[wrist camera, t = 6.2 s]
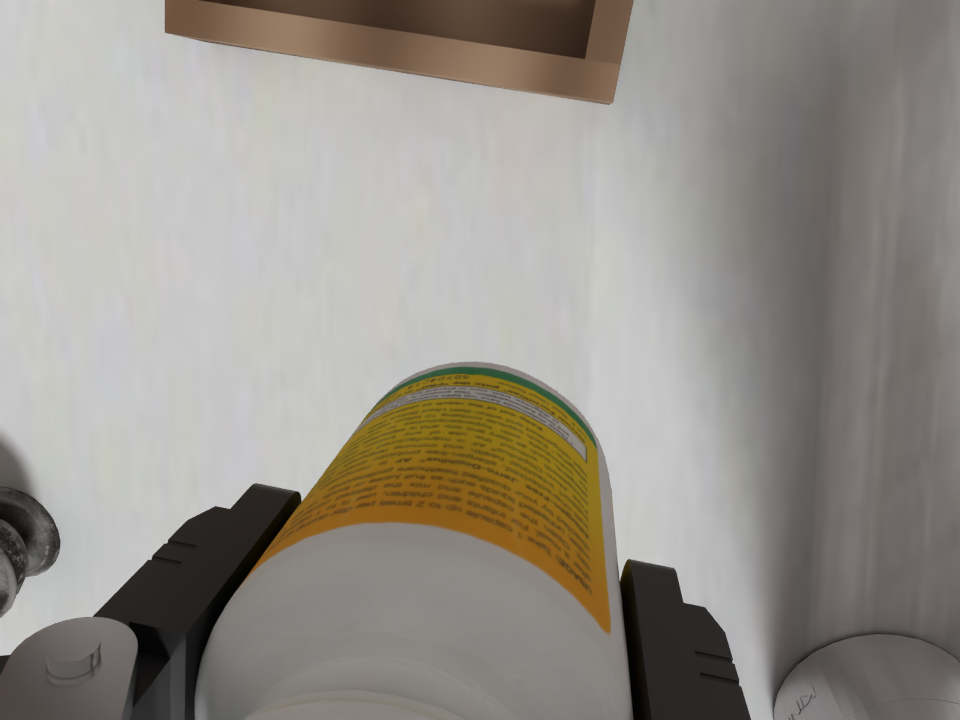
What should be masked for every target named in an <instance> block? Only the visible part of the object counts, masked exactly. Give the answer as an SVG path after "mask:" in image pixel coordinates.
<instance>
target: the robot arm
mask: <svg viewBox="0 0 960 720" xmlns="http://www.w3.org/2000/svg"><path fill="white" fill-rule="evenodd" d="M300 504H301V495H300V493H299V492H297V491H292V490H287V489H282V488H277V487H272V486H267V485H262V484H257V483H256V484H253V485H252V486H251V487H250V488H249V489H248V490H247V491H246V492H245V493H244V494H243V495H242V497H241V498H240V499H239V500H238V501H237V502H236V503H235V504H234V505H233V507H232V508H231V509H226V508H222V507H217V506H215V507H213V508H211V509H209V510H207V511H205V512H203V513H201V514H199V515H197V516H195V517H193V518H191V519H189V520H187V521H186V522H185V523H184V524H183V525H182V526H181V527H180V528H179V529H178V530H177V531H176V532H175V533H174V534H173V535H172V536H171V537H170V538H169V540H168V543H167V544H164V545H163V546H162V547H161V548H160V549H159V550H158V551H157V552H156V553H155V554H154V555H153V556H152V559H151V560H148V561H147V562H146V563H145V564H144V565H143V566H142V567H141V568H140V569H139V570H138V571H137V572H136V573H135V574H134V575H133V576H132V577H131V578H130V579H129V580H128V581H127V582H126V583H125V584H124V585H123V586H122V587H121V588H120V589H119V590H118V591H117V592H116V593H115V594H114V595H113V596H112V598H111V599H110V600H109V601H108V602H107V603H106V604H105V605H104V606H103V607H102V608H101V609H100V610H99V611H98V612H97V613H96V614H95V615H94V616H93V617H82V618H75V619H70V620H65V621H62V622H59V623H55V624H53V625H50V626H48V627H46V628H43V629H42V630H40V631H38V632H36V633H34V634H33V635H31V636H30V637H28V638H27V639H25V640H24V641H23V642H22V643H21V644H20V645H19V646H18V647H17V648H16V649H15V650H14V651H13V652H12V654H11V655H6V656H0V720H195V692H196V683H197V678H198V672H199V667H200V663H201V658H202V655H203V653H204V650H205V647H206V645H207V642H208V639H209V637H210V634H211V632H212V630H213V627H214V626H215V624H216V622H217V620H218V618H219V617H220V615H221V614H222V612H223V610H224V608H225V606H226V605H227V603H228V602H229V601H230V599H231V598H232V596H233V595H234V593H235V592H236V591H237V589H238V588H239V587H240V585H241V584H242V583H243V581H244V580H245V579H246V577H247V576H248V574H249V573H250V572H251V570H252V569H253V568H254V566H255V565H256V564H257V562H258V561H259V559H260V558H261V557H262V555H263V554H264V552H265V551H266V550H267V548H268V547H269V545H270V544H271V543H272V541H273V540H274V539H275V537H276V536H277V535H278V533H279V532H280V531H281V529H282V528H283V527H284V525H285V524H286V523H287V521H288V520H289V518H290V517H291V515H292V514H293V513H294V512H295V510H296V509H297V508H298V506H299V505H300ZM620 589H621V596H622V606H623V617H624V627H625V636H626V644H627V653H628V664H629V675H630V686H631V697H632V707H633V718H634V720H751V718H750V715H749V711H748V708H747V705H746V701H745V698H744V695H743V691H742V688H741V686H739V678H738V675H737V671H736V668H735V665H734V664H732V660H733V658H732V655H731V651H730V648H729V645H728V641H727V638H726V634H725V632H724V631H723V629H722V628H721V627H720V626H719V624H718V623H717V622H716V621H715V619H714V618H713V617H712V616H711V614H710V613H709V612H708V611H707V609H706V608H705V607H701V606H696V605H691V604H686V603H683V599H682V595H681V590H680V586H679V582H678V577H677V573H676V571H675V569H674V568H670V567H665V566H660V565H655V564H650V563H645V562H641V561H636V560H631V559H628V560H627V561H626V563H625V566H624V569H623V572H622V576H621V580H620ZM774 720H960V662H959V661H958V660H957V659H956V658H954V657H953V656H951V655H950V654H948V653H947V652H945V651H944V650H942V649H941V648H940V647H937V646H935V645H932V644H930V643H927V642H925V641H922V640H920V639H915V638H911V637H906V636H901V635H887V634H873V635H865V636H857V637H851V638H848V639H845V640H841V641H838V642H835V643H832V644H830V645H828V646H826V647H824V648H822V649H820V650H818V651H816V652H814V653H812V654H811V655H810V656H808V657H807V658H806V659H804V660H803V661H802V662H800V663H799V664H798V665H797V666H796V667H795V668H794V669H793V670H792V672H791V673H790V674H789V675H788V676H787V677H786V678H785V680H784V682H783V684H782V686H781V688H780V690H779V692H778V694H777V698H776V702H775V707H774Z"/></svg>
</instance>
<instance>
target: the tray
mask: <svg viewBox="0 0 960 720" xmlns="http://www.w3.org/2000/svg"><path fill="white" fill-rule="evenodd" d="M632 5H633V0H165V33H169V34H173V35H178V36H182V37H187V38H191V39H195V40H200V41H204V42H210V43H216V44H223V45H229V46H236V47H242V48H248V49H255V50H261V51H268V52H274V53H280V54H287V55H293V56H300V57H306V58H312V59H319V60H325V61H332V62H338V63H344V64H351V65H357V66H364V67H370V68H376V69H383V70H389V71H396V72H402V73H408V74H415V75H421V76H428V77H434V78H440V79H447V80H453V81H460V82H466V83H472V84H479V85H485V86H492V87H498V88H504V89H511V90H517V91H524V92H530V93H536V94H543V95H549V96H556V97H562V98H568V99H575V100H581V101H588V102H594V103H600V104H607V105H609V104H611V103H613V100H614V95H615V90H616V85H617V80H618V75H619V70H620V65H621V60H622V55H623V50H624V45H625V40H626V35H627V30H628V25H629V20H630V15H631V10H632Z"/></svg>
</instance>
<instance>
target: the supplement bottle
mask: <svg viewBox="0 0 960 720" xmlns="http://www.w3.org/2000/svg"><path fill="white" fill-rule="evenodd" d="M195 720H634V718H633V707H632V697H631V686H630V675H629V664H628V653H627V644H626V636H625V627H624V617H623V606H622V596H621V589H620V581H619V571H618V561H617V548H616V537H615V527H614V515H613V504H612V489H611V486H610V479H609V473H608V468H607V464H606V460H605V456H604V453H603V451H602V448H601V445H600V443H599V441H598V439H597V437H596V435H595V433H594V432H593V430H592V428H591V426H590V425H589V423H588V422H587V420H586V419H585V417H584V416H583V415H582V414H581V412H580V411H579V410H578V409H577V408H576V407H575V406H574V405H573V404H572V403H571V402H570V401H568V400H567V399H566V398H565V397H563V396H562V395H561V394H559V393H558V392H557V391H556V390H554V389H552V388H551V387H549V386H548V385H547V384H545V383H543V382H542V381H540V380H538V379H536V378H534V377H532V376H530V375H528V374H526V373H524V372H521V371H519V370H516V369H513V368H510V367H507V366H502V365H497V364H493V363H484V362H458V363H450V364H444V365H439V366H436V367H433V368H429V369H426V370H424V371H421V372H418V373H416V374H414V375H412V376H410V377H408V378H406V379H405V380H403V381H401V382H400V383H399V384H397V385H396V386H395V387H393V388H392V389H391V390H390V391H389V392H388V393H387V394H386V395H385V396H384V397H382V398H381V399H380V400H379V401H378V403H377V404H376V405H375V406H374V407H373V409H372V410H371V411H370V412H369V413H368V414H367V416H366V417H365V418H364V420H363V421H362V422H361V424H360V425H359V426H358V428H357V429H356V430H355V432H354V433H353V434H352V436H351V437H350V439H349V440H348V441H347V443H346V444H345V445H344V446H343V448H342V449H341V450H340V452H339V453H338V455H337V456H336V457H335V459H334V460H333V461H332V463H331V464H330V465H329V466H328V468H327V469H326V471H325V472H324V473H323V475H322V476H321V478H320V479H319V480H318V482H317V483H316V484H315V486H314V487H313V488H312V489H311V491H310V492H309V493H308V495H307V496H306V497H305V499H304V500H303V501H302V502H301V504H300V505H299V506H298V508H297V509H296V510H295V512H294V513H293V514H292V515H291V517H290V518H289V520H288V521H287V523H286V524H285V525H284V527H283V528H282V529H281V531H280V532H279V533H278V535H277V536H276V537H275V539H274V540H273V541H272V543H271V544H270V545H269V547H268V548H267V550H266V551H265V552H264V554H263V555H262V557H261V558H260V559H259V561H258V562H257V564H256V565H255V566H254V568H253V569H252V570H251V572H250V573H249V574H248V576H247V577H246V579H245V580H244V581H243V583H242V584H241V585H240V587H239V588H238V589H237V591H236V592H235V593H234V595H233V596H232V598H231V599H230V601H229V602H228V603H227V605H226V606H225V608H224V610H223V612H222V614H221V615H220V617H219V618H218V620H217V622H216V624H215V626H214V627H213V630H212V632H211V634H210V637H209V639H208V642H207V645H206V647H205V650H204V653H203V655H202V658H201V663H200V667H199V672H198V678H197V683H196V692H195Z"/></svg>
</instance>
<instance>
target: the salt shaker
mask: <svg viewBox="0 0 960 720" xmlns="http://www.w3.org/2000/svg"><path fill="white" fill-rule="evenodd" d="M59 550H60V538H59V533H58V530H57V527H56V525H55V523H54V521H53V519H52V518H51V516H50V515H49V514H48V512H47V511H46V510H45V508H43V507H42V506H41V505H40V504H39V503H38V502H37V501H36V500H34V499H33V498H31V497H29V496H28V495H26V494H24V493H23V492H20V491H17V490H14V489H11V488H4V487H0V618H1V617H2V616H3V615H4V614H5V613H6V612H7V611H8V610H9V609H10V608H11V607H12V604H13V602H14V600H15V598H16V595H17V594H18V592H19V590H20V588H21V586H22V584H23V582H24V580H25V578H26V577H30V576H36V575H39V574H41V573H43V572H45V571H47V570H48V569H49V568H50V567H51V566H52V565H53V564H54V563H55V561H56V559H57V557H58V555H59Z"/></svg>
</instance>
